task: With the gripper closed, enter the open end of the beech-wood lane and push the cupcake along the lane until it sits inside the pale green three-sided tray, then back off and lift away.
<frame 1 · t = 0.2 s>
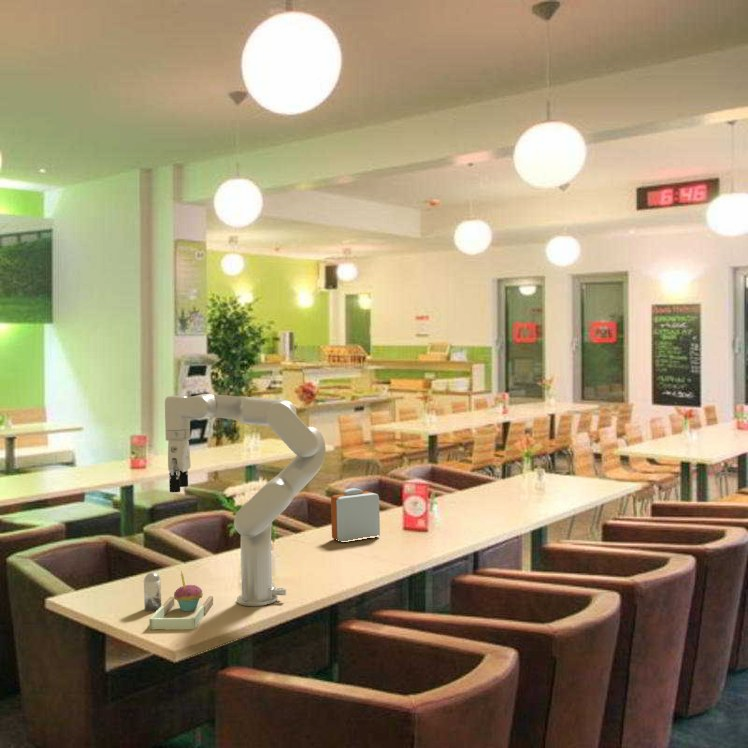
hand: (179, 489, 261), 36 cm above the table, tool pointing down, fingers open, 9 cm apart
glass dome: (153, 609, 255), on the table
grey suitcase: (356, 539, 342), on the table
tray: (177, 622, 241), on the table
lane: (187, 609, 253), on the table
cupcake: (188, 609, 254), on the table
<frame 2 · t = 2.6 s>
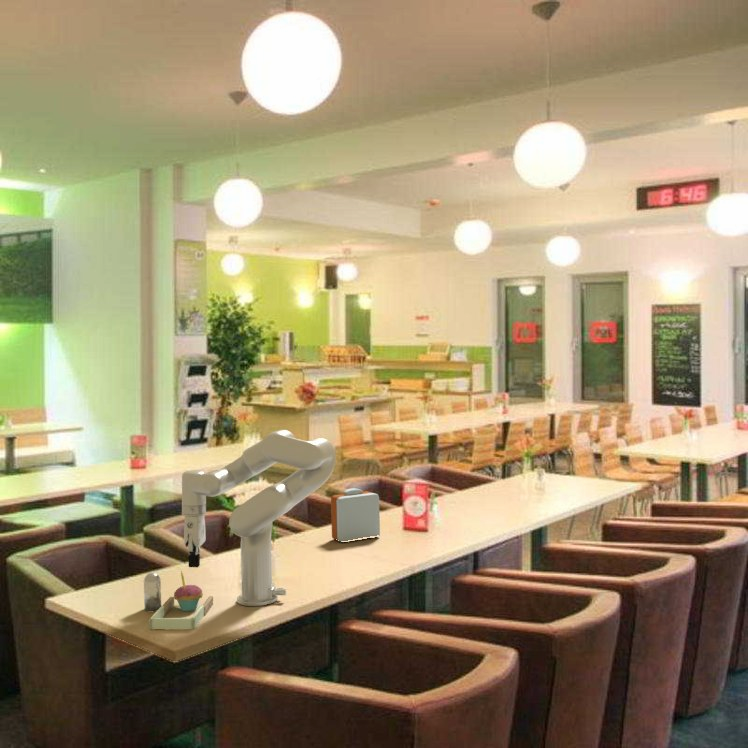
hand: (194, 566, 265), 10 cm above the table, tool pointing down, fingers closed
nothing on the table moved.
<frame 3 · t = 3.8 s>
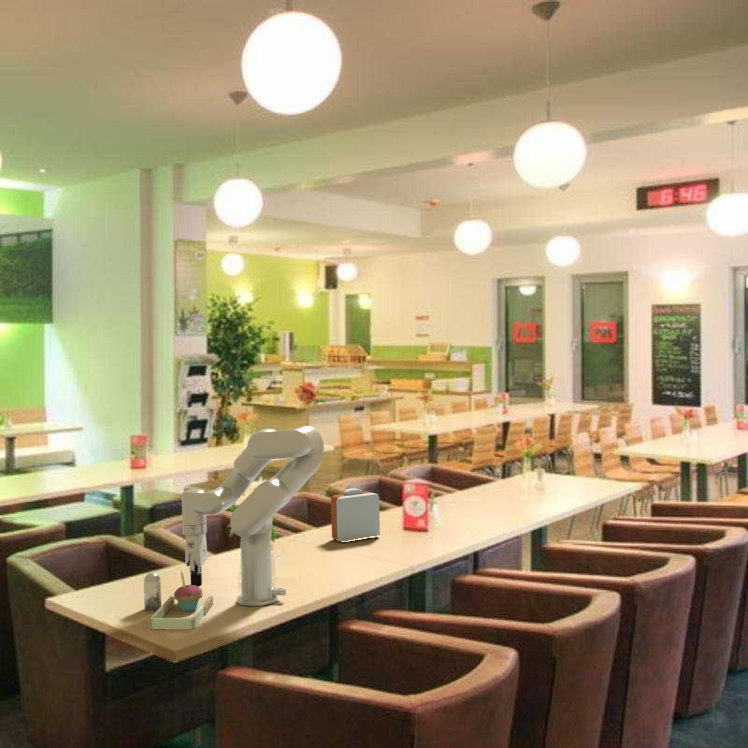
hand: (196, 585, 264), 4 cm above the table, tool pointing down, fingers closed
nothing on the table moved.
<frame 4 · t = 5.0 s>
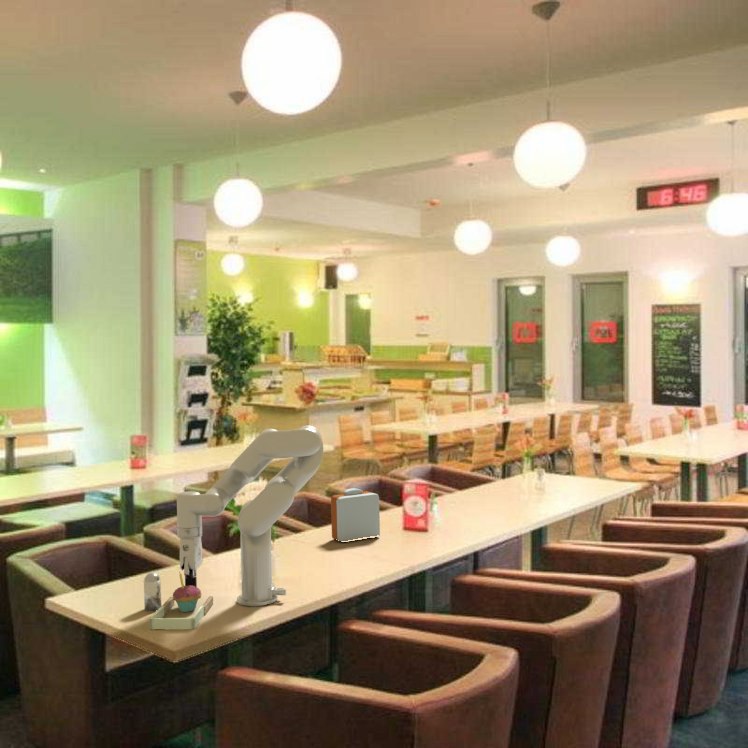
hand: (191, 589, 259), 4 cm above the table, tool pointing down, fingers closed
cupcake: (187, 609, 253), on the table, touching gripper
everything else where it was.
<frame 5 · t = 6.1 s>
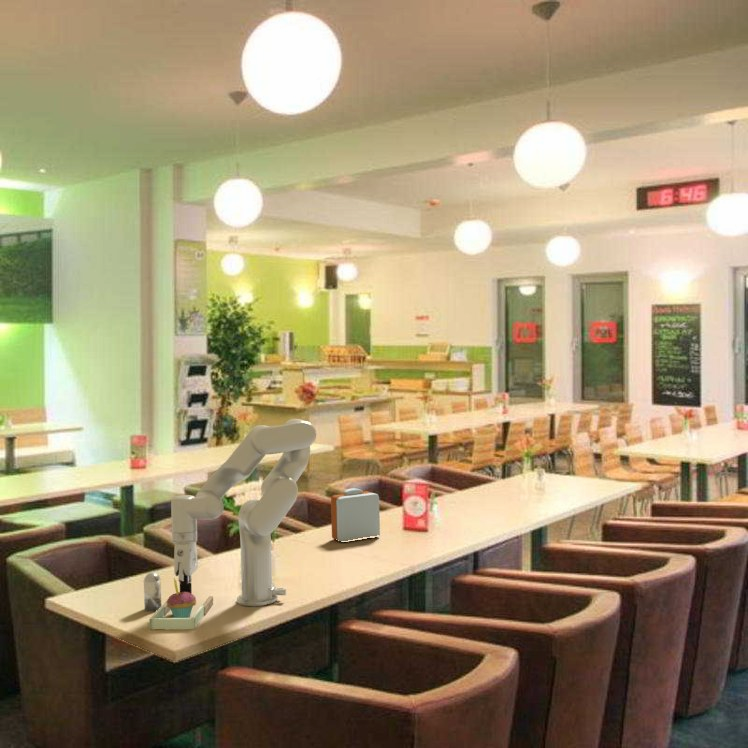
hand: (185, 596, 252), 4 cm above the table, tool pointing down, fingers closed
cupcake: (181, 616, 247), on the table, touching gripper
everything else where it was.
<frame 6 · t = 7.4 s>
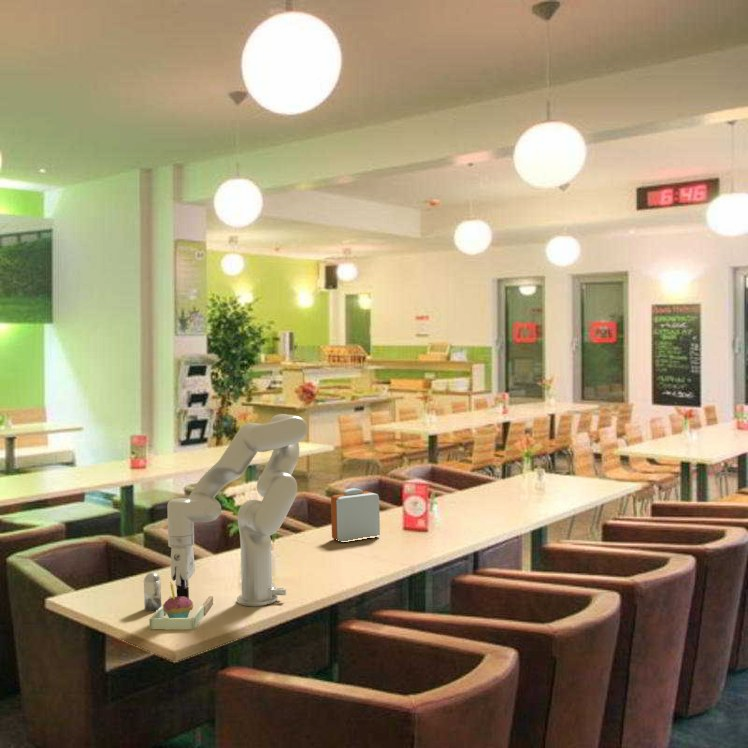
hand: (182, 600, 248), 4 cm above the table, tool pointing down, fingers closed
cupcake: (178, 621, 243), on the table, touching gripper
everything else where it was.
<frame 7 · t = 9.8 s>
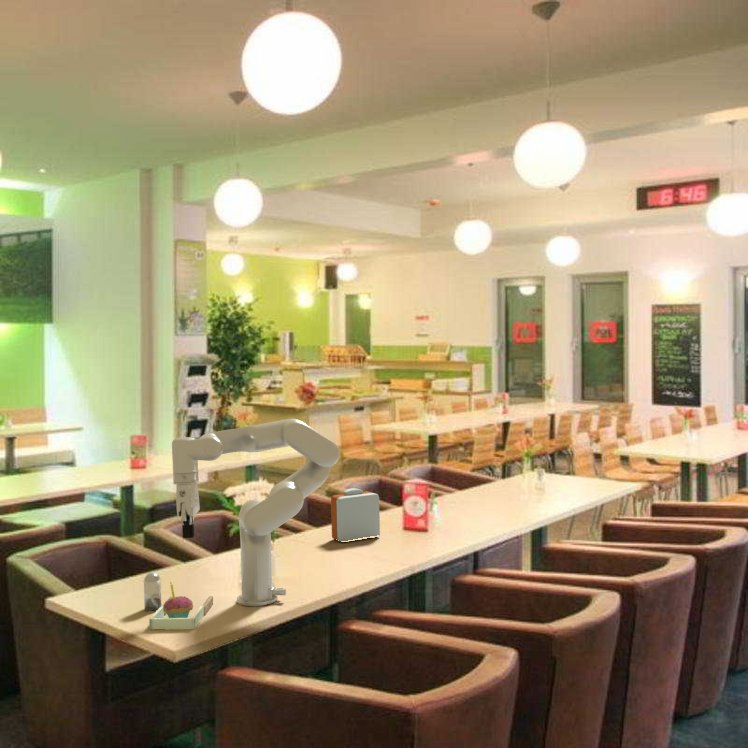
hand: (188, 537, 255), 22 cm above the table, tool pointing down, fingers closed
cupcake: (178, 622, 242), on the table
everything else where it was.
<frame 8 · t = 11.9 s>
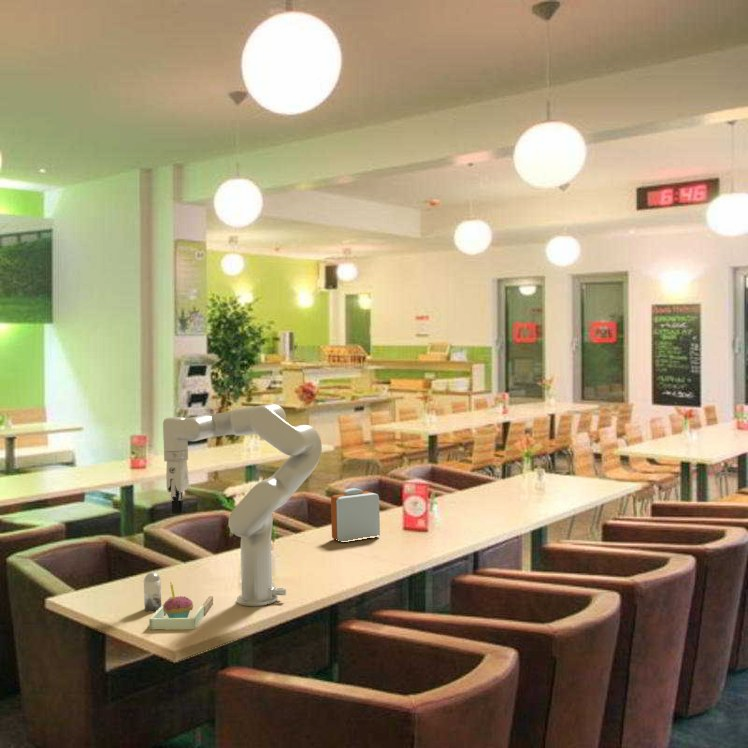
hand: (177, 512, 267), 27 cm above the table, tool pointing down, fingers closed
nothing on the table moved.
at the end: cupcake inside the target area on the tray (0.2 cm from its centre), point 0.0 cm above the tray's base; cupcake tilted 0°; glass dome moved 0.0 cm from its start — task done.
